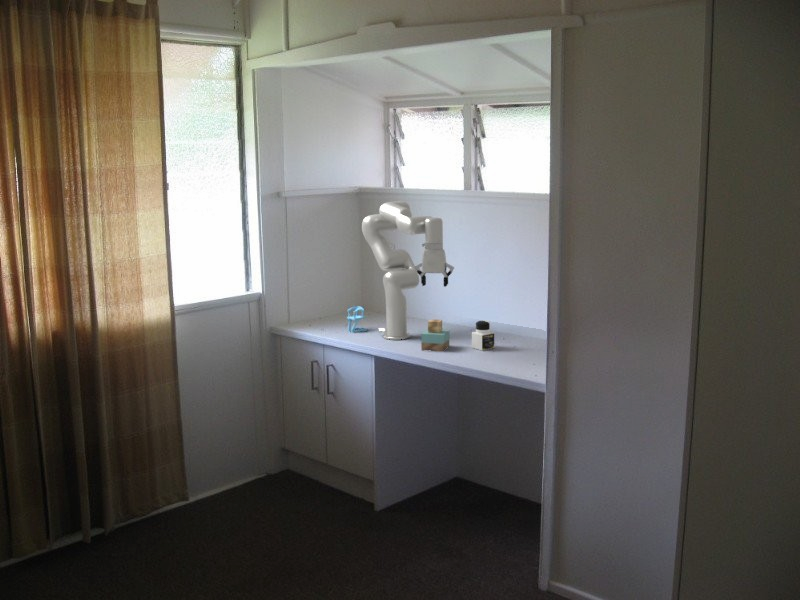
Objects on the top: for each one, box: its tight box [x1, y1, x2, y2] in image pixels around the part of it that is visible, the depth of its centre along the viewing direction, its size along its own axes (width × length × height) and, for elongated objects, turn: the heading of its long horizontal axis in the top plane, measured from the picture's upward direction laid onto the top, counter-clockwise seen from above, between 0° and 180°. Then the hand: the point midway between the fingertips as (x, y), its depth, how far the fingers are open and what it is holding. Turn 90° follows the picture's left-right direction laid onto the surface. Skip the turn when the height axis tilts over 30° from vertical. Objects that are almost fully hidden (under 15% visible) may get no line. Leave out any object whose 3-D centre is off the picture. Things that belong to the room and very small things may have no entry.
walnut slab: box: [420, 339, 450, 352], centre depth 368 cm, size 10×10×4 cm
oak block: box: [427, 318, 443, 333], centre depth 367 cm, size 5×5×5 cm
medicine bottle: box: [471, 320, 495, 351], centre depth 365 cm, size 7×7×12 cm
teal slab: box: [421, 328, 451, 344], centre depth 368 cm, size 10×10×4 cm
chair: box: [346, 305, 368, 333], centre depth 407 cm, size 8×8×12 cm
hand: (434, 285), depth 363 cm, fingers open, 9 cm apart
